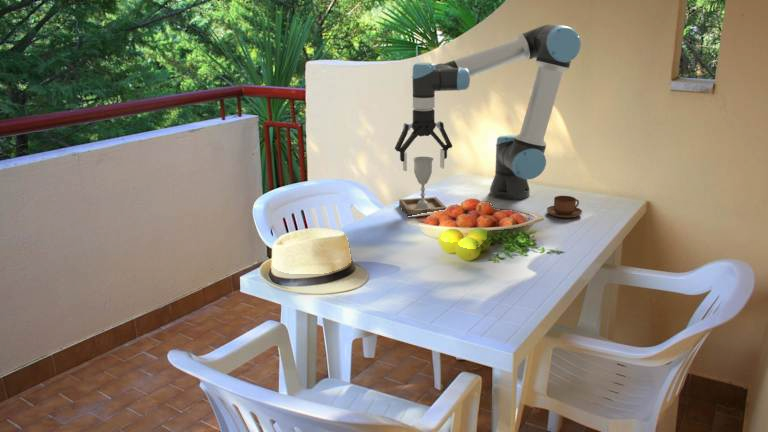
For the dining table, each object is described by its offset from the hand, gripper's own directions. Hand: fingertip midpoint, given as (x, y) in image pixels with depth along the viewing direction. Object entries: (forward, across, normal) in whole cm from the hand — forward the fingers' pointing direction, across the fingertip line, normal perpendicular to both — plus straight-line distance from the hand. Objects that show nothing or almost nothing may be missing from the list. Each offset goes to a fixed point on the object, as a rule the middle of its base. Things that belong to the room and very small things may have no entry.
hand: (423, 169), depth 244 cm
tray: (+15, 0, 0) cm, 15 cm away
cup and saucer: (+16, -46, +17) cm, 52 cm away
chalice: (+14, 0, 0) cm, 14 cm away
